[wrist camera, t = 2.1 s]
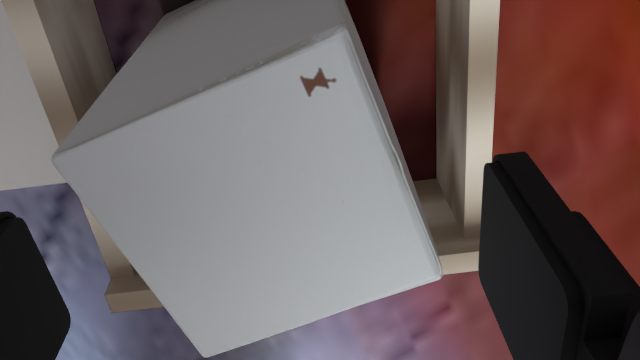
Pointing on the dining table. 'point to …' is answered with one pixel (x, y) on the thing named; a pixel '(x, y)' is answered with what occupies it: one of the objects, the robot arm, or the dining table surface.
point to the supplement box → (252, 171)
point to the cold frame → (434, 194)
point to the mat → (22, 121)
